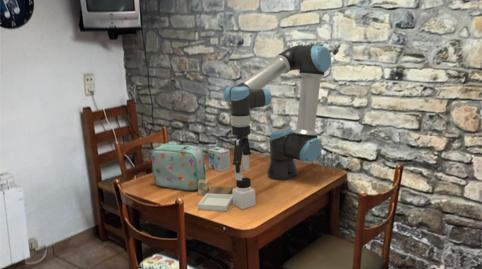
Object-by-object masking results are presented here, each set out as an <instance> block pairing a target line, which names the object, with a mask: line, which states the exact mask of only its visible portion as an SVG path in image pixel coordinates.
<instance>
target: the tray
mask: <svg viewBox="0 0 482 269" xmlns="http://www.w3.org/2000/svg"><path fill="white" fill-rule="evenodd" d="M232 205H233V194H231V195H229V194H209V193H207V194H206V195H203V197H202V198H201V199H200V201H199V202H198V203H197V211H207V210H210V211H211V210H212V211H211V212H228V211H229V209H230V208H231V206H232Z"/></svg>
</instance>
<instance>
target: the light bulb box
mask: <svg viewBox="0 0 482 269" xmlns="http://www.w3.org/2000/svg"><path fill="white" fill-rule="evenodd" d="M207 152H208V168H209V169H211V170H215V171H217V172H220V173H222V172H223V173H224V172H226V171H230V170H231V156H230V154H231V153H230V149H228V148H227V149H226V148H223V147H220V146H215V147H211V148H209V149H208V148H207Z"/></svg>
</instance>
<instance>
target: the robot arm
mask: <svg viewBox="0 0 482 269" xmlns="http://www.w3.org/2000/svg"><path fill="white" fill-rule="evenodd" d="M331 65H332V56H331V53H330V52H329V50H328V48H327V47H326V46H324V45H316V44H311V45H310V44H308V45H302V44H301V45H300V44H298V45H294V46H291V47H289V48H287V49H285V50H283V51H281V52H280V53H278V54H277V55H275V57H274V58H273V60H272V61H271V62H269V63H268V64H266V65H265V66H263V67H262V68H261V69H259V70H258V71H256V72H255V73H253V74H251V75H250V76H249V77H247V78H246V79H245V80H244V81H241V82H240V83H239V84H237V85H236V86H228V87H226V89H225V90H224V92H223V98H224V100H225V102H226V103H228V104H230V110H231V111H230V112H231V116H230V120H231V125H232V126H231V134H232V136H235V137H236V139H235V140H234V141H233V142H234V146H233V149H234V150H233V160H232V166H234V178H235V179H234V180H235V181H236V180H242V177H243V170H244V171H250V155H252V151H251V148H250V142H249V135H251V126H250V124H251V111H250V110H251V109H257V108H258V109H259V108H264V107H266V106H269V105H270V104H271V102H272V92H271V90H269V89H268V88H265V87H266V86H268V85H269V84H270V83H272V82H273V81H274V80H276V79H277V78H279V77H280V76H282V75H283V74H285V75H286V74H287V73H289V72H291V71H298V74H299V76H300V77H301V83H300V93H299V102H298V112H297V121H296V128H295V129H294V130H293V129H291V128H289V129H287V128H285V129H278V130H274V131H272V132H270V134H269V152H270V154H269V156H270V160H269V161H270V162H269V165H268V168H267V173H266V174H267V177H268V178H269V179H271V180H275V181H288V180H292V179H296V178H297V177H298V173H299V172H298V168H297V165H296V163H295V160H298V161H301V162H306V163H312V162H313V161H316V160H317V158H318V157H319V156H320V154H321V151H322V142H321V140H320V139H319V138H318V132H317V131H316V121H317V113H318V103H319V95H320V86H321V80H322V78H324V76H325V72H327V71H329V69H330V67H331Z"/></svg>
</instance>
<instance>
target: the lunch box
mask: <svg viewBox="0 0 482 269" xmlns="http://www.w3.org/2000/svg"><path fill="white" fill-rule="evenodd" d="M206 165H207V164H206V163H205V155H204V151H203V149H202V148H201V147H199V146H196V145H194V144H193V145H190V144H175V143H170V142H168V143H163V144H161V145H159V146H158V147H156V148H154V149H152V151H151V166H152V177H153V181H154V183H155V184H156V185H157V186H158V187H164V188H169V189H173V190H174V189H175V190H184V191H196V190H197V191H198V182H199V181H200V180H206V177H207V176H206V171H207V166H206Z"/></svg>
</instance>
